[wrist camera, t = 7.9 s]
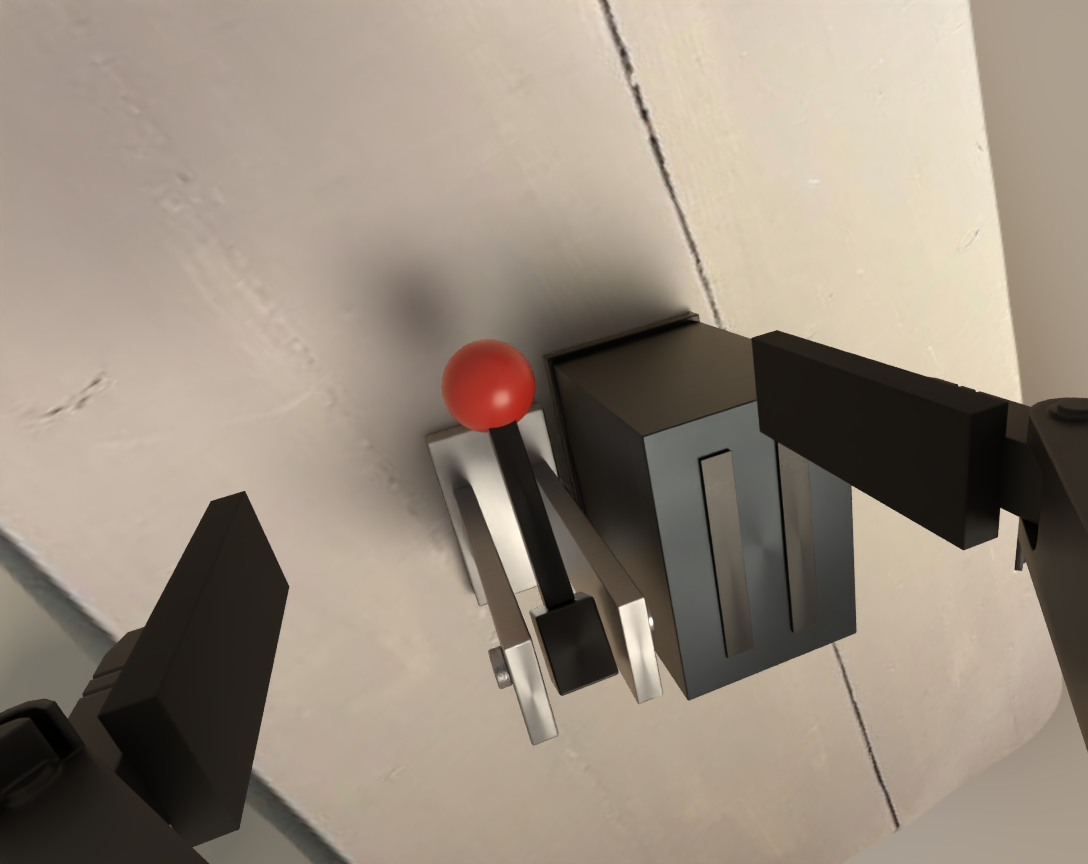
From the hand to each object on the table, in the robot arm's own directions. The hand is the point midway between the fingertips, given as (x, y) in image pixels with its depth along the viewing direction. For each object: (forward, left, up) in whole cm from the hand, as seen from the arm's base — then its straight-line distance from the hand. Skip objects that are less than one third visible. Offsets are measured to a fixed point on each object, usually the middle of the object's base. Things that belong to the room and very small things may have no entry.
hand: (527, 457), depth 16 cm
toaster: (+8, +8, -16) cm, 20 cm away
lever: (+6, 0, -8) cm, 10 cm away
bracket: (+9, 0, -16) cm, 19 cm away
